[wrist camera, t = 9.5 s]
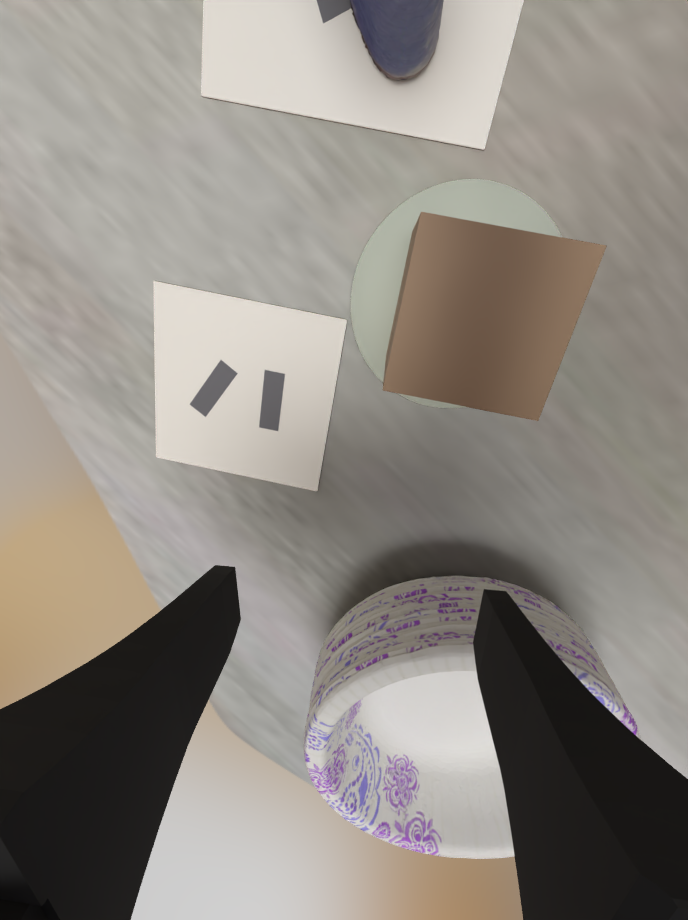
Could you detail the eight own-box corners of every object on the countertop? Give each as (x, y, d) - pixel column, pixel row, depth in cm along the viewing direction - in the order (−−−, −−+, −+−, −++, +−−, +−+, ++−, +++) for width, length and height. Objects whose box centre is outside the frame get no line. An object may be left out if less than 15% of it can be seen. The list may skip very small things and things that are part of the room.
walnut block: (536, 253, 17) (606, 246, 11) (496, 377, 19) (538, 421, 13) (412, 231, 17) (420, 211, 11) (386, 355, 19) (382, 390, 13)
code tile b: (347, 319, 19) (347, 320, 19) (317, 490, 23) (317, 491, 23) (154, 280, 19) (152, 280, 19) (157, 456, 23) (156, 457, 23)
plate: (603, 205, 16) (610, 203, 16) (520, 421, 20) (524, 426, 19) (374, 161, 16) (374, 157, 16) (336, 383, 20) (334, 387, 20)
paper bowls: (631, 644, 25) (729, 797, 18) (442, 747, 30) (457, 895, 23) (450, 485, 22) (477, 591, 15) (278, 633, 28) (237, 761, 20)
